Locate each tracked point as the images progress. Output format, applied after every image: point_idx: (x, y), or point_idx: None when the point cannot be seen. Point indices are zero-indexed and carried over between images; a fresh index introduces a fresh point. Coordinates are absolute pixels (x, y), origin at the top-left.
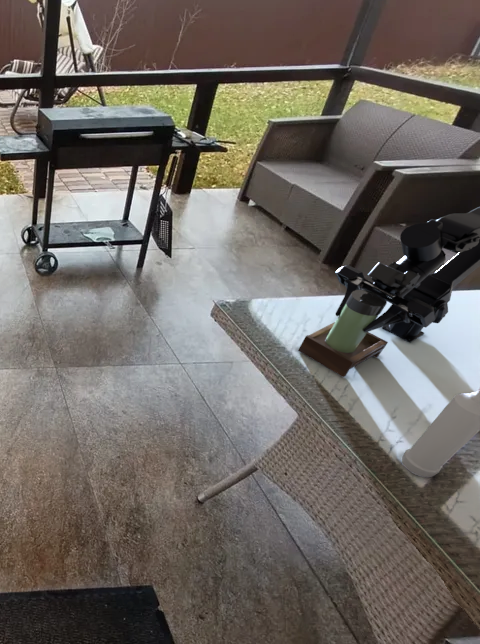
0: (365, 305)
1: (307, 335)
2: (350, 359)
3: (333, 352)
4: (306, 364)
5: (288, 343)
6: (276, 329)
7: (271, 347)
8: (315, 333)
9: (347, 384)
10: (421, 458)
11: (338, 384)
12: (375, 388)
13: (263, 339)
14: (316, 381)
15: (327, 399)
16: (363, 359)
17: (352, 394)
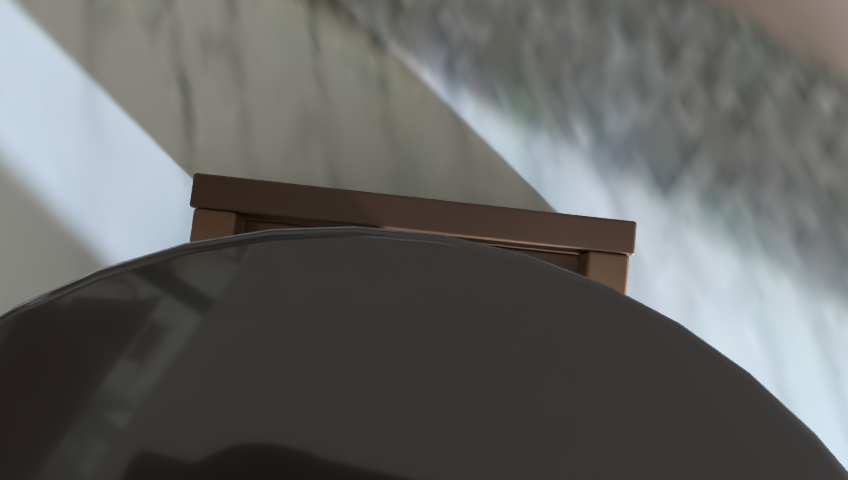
0: (203, 249)
1: (632, 243)
2: (225, 199)
3: (367, 193)
4: (466, 130)
5: (672, 267)
6: (824, 369)
7: (718, 113)
8: None
9: (191, 148)
10: None
11: (230, 97)
12: (51, 266)
13: (806, 157)
14: (337, 5)
15: None
16: None
17: (127, 71)
